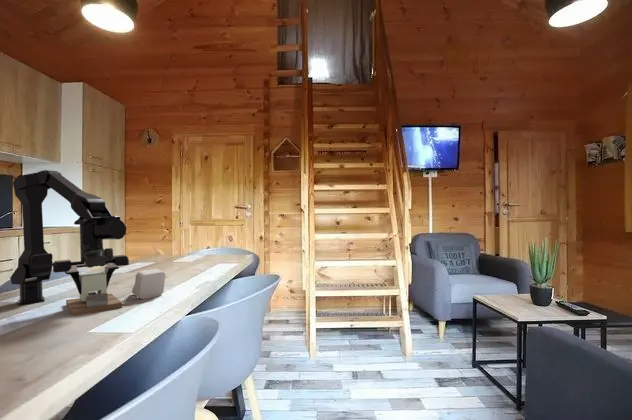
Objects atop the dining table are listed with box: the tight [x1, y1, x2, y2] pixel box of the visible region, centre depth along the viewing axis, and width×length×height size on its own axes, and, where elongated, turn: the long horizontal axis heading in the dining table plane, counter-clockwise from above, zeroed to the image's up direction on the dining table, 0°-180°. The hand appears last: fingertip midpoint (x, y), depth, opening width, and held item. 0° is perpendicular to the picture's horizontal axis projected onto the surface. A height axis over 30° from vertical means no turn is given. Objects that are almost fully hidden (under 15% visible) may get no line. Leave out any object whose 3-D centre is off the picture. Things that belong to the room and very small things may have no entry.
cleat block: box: [79, 270, 108, 301], centre depth 109 cm, size 7×6×7 cm
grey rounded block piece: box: [131, 268, 166, 300], centre depth 121 cm, size 8×10×10 cm
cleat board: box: [65, 291, 123, 317], centre depth 108 cm, size 16×12×4 cm
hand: (93, 292), depth 109 cm, fingers closed on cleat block, 6 cm apart
